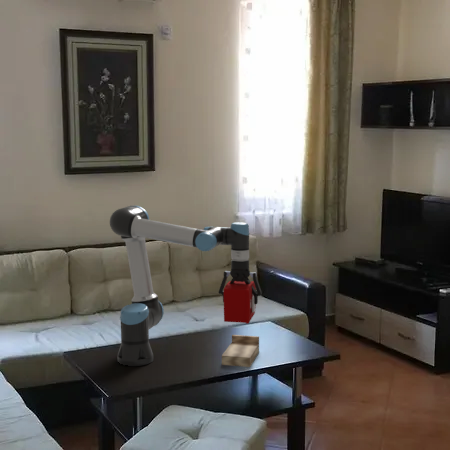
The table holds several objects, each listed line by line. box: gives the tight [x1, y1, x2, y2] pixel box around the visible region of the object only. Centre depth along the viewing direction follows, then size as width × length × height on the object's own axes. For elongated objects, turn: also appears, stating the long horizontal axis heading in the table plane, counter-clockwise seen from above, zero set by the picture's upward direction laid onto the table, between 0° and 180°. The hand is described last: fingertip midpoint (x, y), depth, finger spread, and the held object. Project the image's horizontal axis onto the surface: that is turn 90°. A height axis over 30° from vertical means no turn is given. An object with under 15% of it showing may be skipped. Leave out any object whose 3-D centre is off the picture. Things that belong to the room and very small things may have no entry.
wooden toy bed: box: [221, 334, 260, 368], centre depth 295 cm, size 12×20×7 cm, turn 166°
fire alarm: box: [223, 280, 257, 325], centre depth 290 cm, size 16×11×15 cm
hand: (240, 310), depth 291 cm, fingers closed on fire alarm, 11 cm apart
